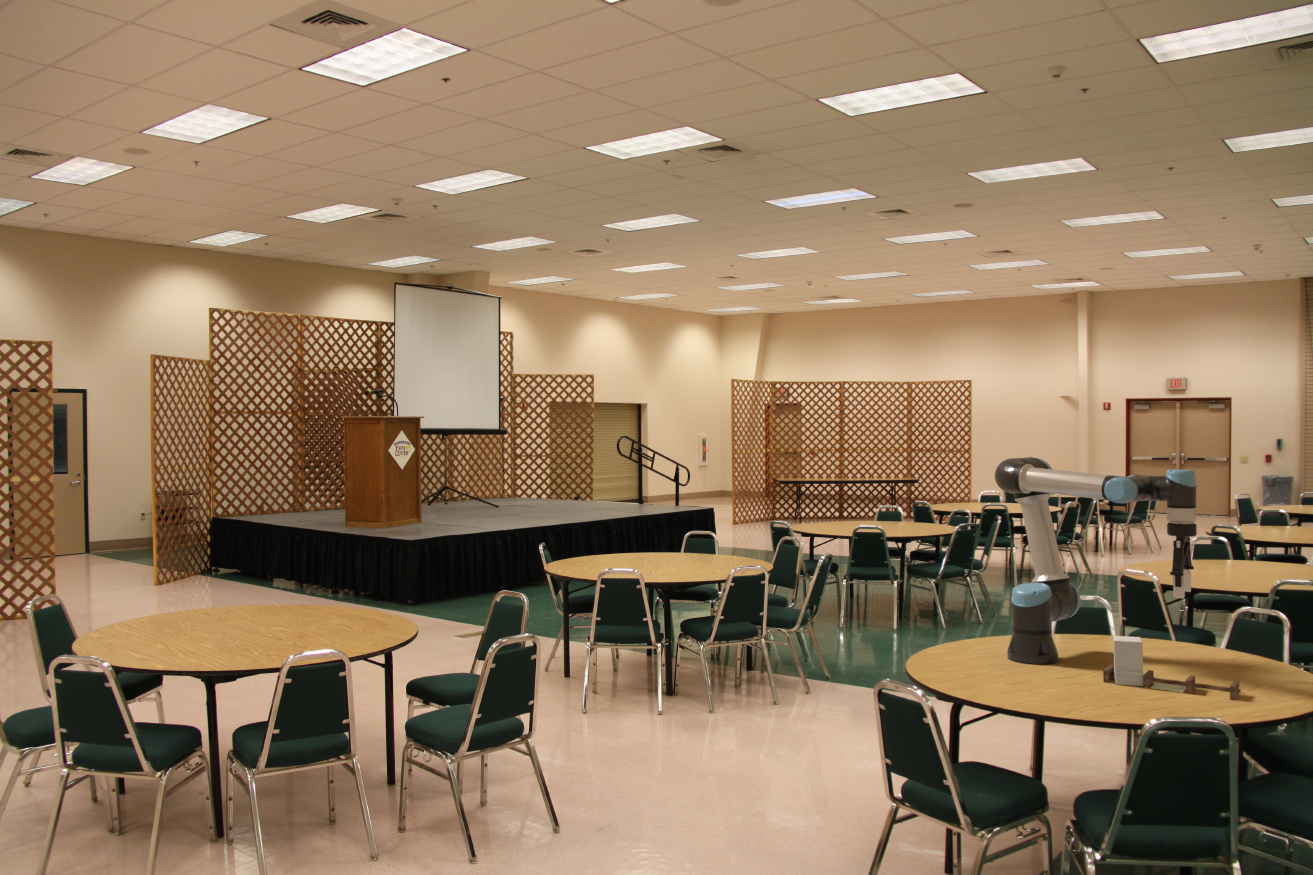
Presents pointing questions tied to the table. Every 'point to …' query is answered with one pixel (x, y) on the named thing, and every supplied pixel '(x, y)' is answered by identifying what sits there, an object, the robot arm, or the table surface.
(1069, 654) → the table surface
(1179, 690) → the pad
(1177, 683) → the notch rail
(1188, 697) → the table surface
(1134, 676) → the supplement box
